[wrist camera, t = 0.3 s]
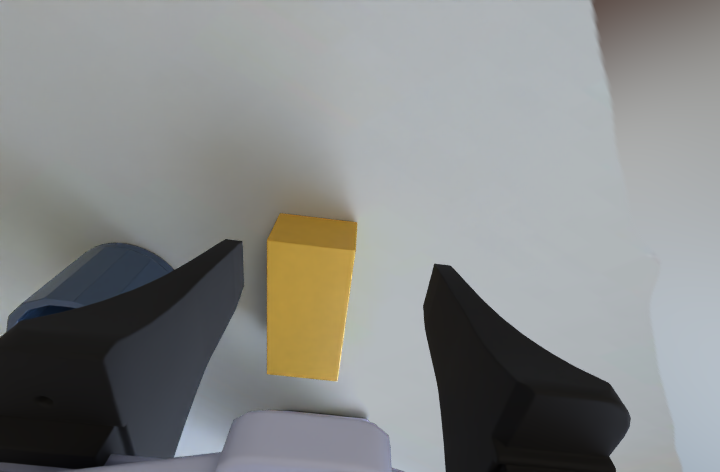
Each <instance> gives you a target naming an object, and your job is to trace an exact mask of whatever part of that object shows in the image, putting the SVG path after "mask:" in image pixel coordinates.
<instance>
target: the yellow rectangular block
mask: <svg viewBox="0 0 720 472" xmlns="http://www.w3.org/2000/svg"><path fill="white" fill-rule="evenodd" d="M356 237H357V222H350V221H342V220H334V219H325V218H317V217H309V216H300V215H292V214H283V213H280V214H279V216H278V218H277V220H276V222H275V225H274V227H273V229H272V231H271V233H270V235H269V237H268V239H267V374H270V375H280V376H290V377H300V378H309V379H319V380H329V381H338V375H339V368H340V361H341V354H342V346H343V339H344V332H345V324H346V317H347V310H348V303H349V295H350V288H351V281H352V273H353V266H354V259H355V252H356Z"/></svg>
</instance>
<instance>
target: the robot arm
mask: <svg viewBox="0 0 720 472" xmlns="http://www.w3.org/2000/svg"><path fill="white" fill-rule="evenodd" d="M243 287H244V273H243V245H242V241H237V240H228V239H225V240H223V241H222V242H220V243H218V244H217V245H215V246H214V247H212V248H210V249H209V250H207V251H206V252H204V253H203V254H201V255H199V256H198V257H196V258H194V259H193V260H191V261H189V262H188V263H186V264H184V265H183V266H181V267H179V268H177V269H175V270H173V271H172V272H170V273H168V274H166V275H164V276H162V277H160V278H158V279H156V280H154V281H152V282H150V283H148V284H145V285H143V286H141V287H138V288H136V289H134V290H131V291H128V292H125V293H123V294H120V295H117V296H114V297H112V298H109V299H106V300H103V301H100V302H97V303H93V304H90V305H87V306H83V307H79V308H76V309H72V310H68V311H64V312H60V313H55V314H51V315H46V316H41V317H37V318H32V319H27V320H22V321H20V322H18V323H17V324H16V325H15V326H14V327H12V328H11V329H10V330H9V331H8V332H6V333H5V334H4V335H3V336H2V337H0V472H404V471H401V470H398V469H395V468H392V467H391V447H390V441H389V435H388V434H386V433H385V432H384V431H383V430H382V429H381V428H379V427H378V426H377V425H376V424H374V423H371V422H370V421H369V420H368V419H365V418H354V417H344V416H334V415H324V414H314V413H304V412H294V411H277V410H258V411H250V412H247V413H245V414H244V415H242V416H240V417H238V418H236V419H234V420H233V423H232V425H231V428H230V431H229V433H228V436H227V439H226V442H225V445H224V448H223V451H222V452H219V453H210V454H202V455H193V456H185V457H176V458H174V455H175V452H176V449H177V446H178V443H179V440H180V437H181V434H182V431H183V428H184V425H185V422H186V419H187V416H188V414H189V411H190V408H191V406H192V403H193V400H194V397H195V395H196V392H197V389H198V387H199V384H200V382H201V379H202V376H203V374H204V371H205V369H206V366H207V364H208V362H209V360H210V358H211V356H212V354H213V352H214V350H215V348H216V346H217V344H218V342H219V340H220V339H221V337H222V335H223V333H224V331H225V329H226V327H227V325H228V323H229V321H230V319H231V317H232V315H233V313H234V311H235V309H236V307H237V304H238V302H239V299H240V296H241V293H242V290H243ZM423 310H424V323H425V331H426V336H427V341H428V345H429V350H430V354H431V358H432V363H433V367H434V372H435V376H436V381H437V386H438V392H439V401H440V409H441V419H442V429H443V440H444V453H445V466H446V472H616V468H615V466H614V464H613V463H612V461H611V459H610V457H609V456H610V454H611V453H612V452H613V450H614V449H615V448H616V447H617V445H618V444H619V443H620V441H621V440H622V439H623V438H624V436H625V434H626V433H627V431H628V429H629V427H630V419H631V418H630V415H629V412H628V410H627V409H626V407H625V406H624V404H623V403H622V401H621V400H620V398H619V397H618V395H617V394H616V392H615V391H614V389H613V388H612V386H611V385H610V384H609V383H608V382H606V381H604V380H601V379H599V378H597V377H595V376H593V375H591V374H589V373H587V372H585V371H583V370H581V369H579V368H577V367H575V366H573V365H571V364H569V363H568V362H566V361H564V360H562V359H560V358H559V357H557V356H555V355H553V354H552V353H550V352H549V351H547V350H545V349H544V348H542V347H541V346H539V345H538V344H536V343H535V342H533V341H532V340H530V339H529V338H527V337H526V336H525V335H523V334H522V333H520V332H519V331H518V330H517V329H515V328H514V327H513V326H511V325H510V324H509V323H508V322H506V321H505V320H504V319H503V318H502V317H500V316H499V315H498V314H497V313H496V312H495V311H494V310H493V309H492V308H491V307H490V306H488V305H487V304H486V303H485V302H484V301H483V300H482V299H481V298H480V297H479V296H478V295H477V293H476V292H475V291H474V290H473V289H472V288H471V287H470V286H469V285H468V284H467V283H466V282H465V281H464V280H463V278H462V277H461V276H460V275H459V274H458V273H457V272H456V271H455V270H454V269H453V268H452V267H451V266H449V265H441V264H434V267H433V271H432V275H431V279H430V282H429V286H428V290H427V294H426V298H425V301H424V305H423Z"/></svg>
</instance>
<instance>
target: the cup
mask: <svg viewBox="0 0 720 472" xmlns="http://www.w3.org/2000/svg"><path fill="white" fill-rule="evenodd" d="M173 270H174V269H173V268H172V267H171V266H170V265H169V264H168V263H167V262H166V261H164V260H163V259H162V258H160V257H159V256H157V255H155V254H154V253H152V252H150V251H148V250H146V249H143V248H141V247H138V246H134V245H130V244H124V243H108V244H102V245H99V246H96V247H94V248H92V249H90V250H89V251H87V252H85V253H84V254H83V255H82V256H80V257H79V258H78V259H77V260H75V261H74V262H73V263H72V264H70V265H69V266H68V267H67V268H65V269H64V270H63V271H62V272H60V273H59V274H58V275H57V276H55V277H54V278H53V279H52V280H50V281H49V282H48V283H47V284H45V285H44V286H43V287H42V288H40V289H39V290H38V291H37V292H35V293H34V294H33V295H32V296H30V297H29V298H28V299H27V300H25V301H24V302H23V303H22V304H21V305H19V306H18V307H17V308H16V309H15V310H14V311H13V312H12V313H11V314H10V315H9V316H8V323H7V331H6V332H8V331H9V330H10V329H11V328H12V327H14V326H15V325H16V324H17V323H18V322H20V321H22V320H27V319H32V318H37V317H41V316H46V315H51V314H55V313H60V312H64V311H68V310H72V309H76V308H79V307H83V306H87V305H90V304H93V303H97V302H100V301H103V300H106V299H109V298H112V297H114V296H117V295H120V294H123V293H125V292H128V291H131V290H134V289H136V288H138V287H141V286H143V285H145V284H148V283H150V282H152V281H154V280H156V279H158V278H160V277H162V276H164V275H166V274H168V273H170V272H172V271H173Z"/></svg>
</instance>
